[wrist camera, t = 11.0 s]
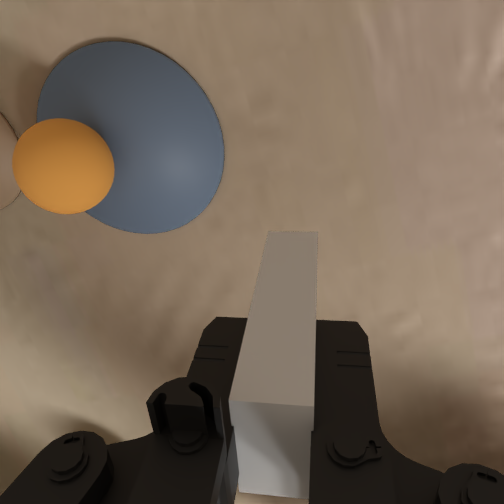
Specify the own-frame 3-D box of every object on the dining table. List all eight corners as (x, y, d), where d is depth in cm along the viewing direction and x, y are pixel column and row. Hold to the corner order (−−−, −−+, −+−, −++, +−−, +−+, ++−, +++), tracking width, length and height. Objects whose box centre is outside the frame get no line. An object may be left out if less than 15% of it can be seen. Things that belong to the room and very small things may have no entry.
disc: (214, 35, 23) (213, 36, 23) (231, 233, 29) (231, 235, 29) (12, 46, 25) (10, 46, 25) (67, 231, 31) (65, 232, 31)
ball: (96, 107, 28) (101, 112, 23) (121, 190, 30) (130, 210, 25) (3, 125, 26) (-13, 134, 21) (36, 211, 28) (29, 236, 24)
